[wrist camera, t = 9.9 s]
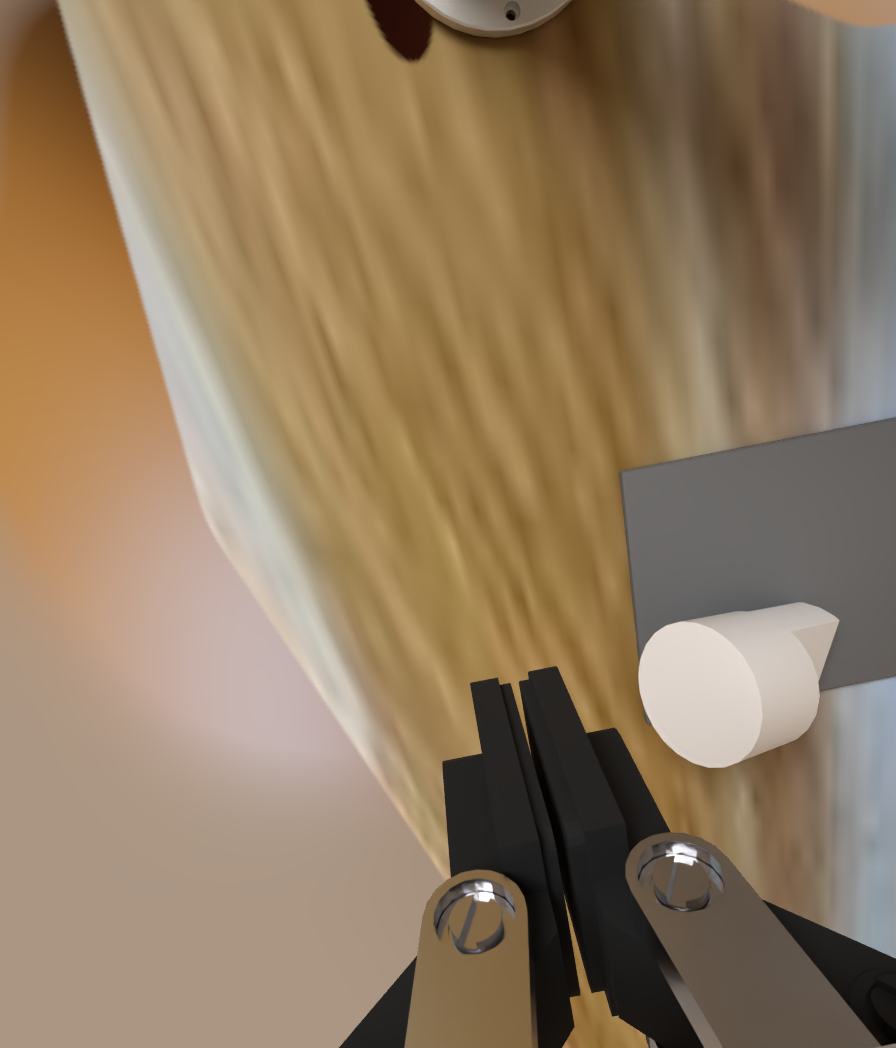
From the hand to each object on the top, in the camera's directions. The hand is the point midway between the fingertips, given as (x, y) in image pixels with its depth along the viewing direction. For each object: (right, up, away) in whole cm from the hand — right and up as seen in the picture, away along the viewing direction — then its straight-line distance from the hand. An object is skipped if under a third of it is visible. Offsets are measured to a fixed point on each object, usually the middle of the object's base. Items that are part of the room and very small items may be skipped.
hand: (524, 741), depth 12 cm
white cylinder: (+14, -7, +28) cm, 32 cm away
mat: (+22, 0, +34) cm, 40 cm away
